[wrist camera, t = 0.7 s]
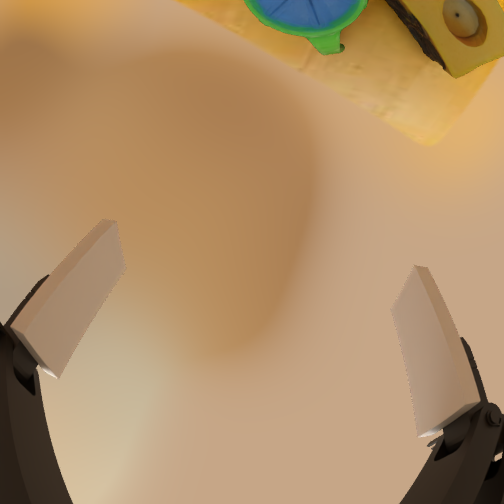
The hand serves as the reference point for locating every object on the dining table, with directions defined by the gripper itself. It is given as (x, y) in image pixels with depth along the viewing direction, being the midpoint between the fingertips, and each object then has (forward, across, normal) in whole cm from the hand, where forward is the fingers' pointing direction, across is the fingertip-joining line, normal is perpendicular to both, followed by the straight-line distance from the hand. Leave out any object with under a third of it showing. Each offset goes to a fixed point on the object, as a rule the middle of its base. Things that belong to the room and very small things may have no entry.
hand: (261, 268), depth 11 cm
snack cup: (+24, +2, +20) cm, 32 cm away
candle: (+22, +15, +22) cm, 35 cm away
